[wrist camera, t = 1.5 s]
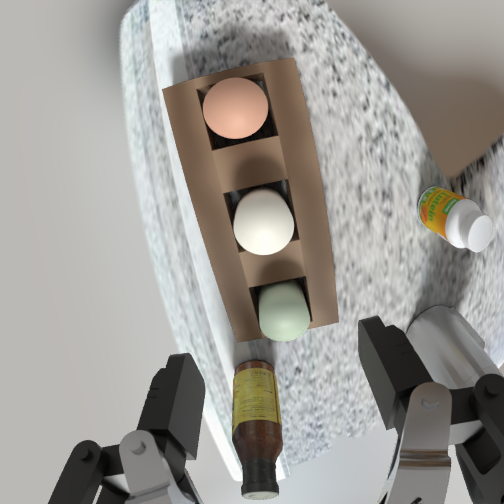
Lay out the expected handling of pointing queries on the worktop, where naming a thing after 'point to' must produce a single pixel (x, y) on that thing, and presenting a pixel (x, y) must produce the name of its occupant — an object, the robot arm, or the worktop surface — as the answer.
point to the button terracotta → (235, 108)
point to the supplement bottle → (455, 219)
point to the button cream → (263, 221)
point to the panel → (252, 174)
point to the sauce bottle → (257, 428)
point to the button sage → (283, 310)
